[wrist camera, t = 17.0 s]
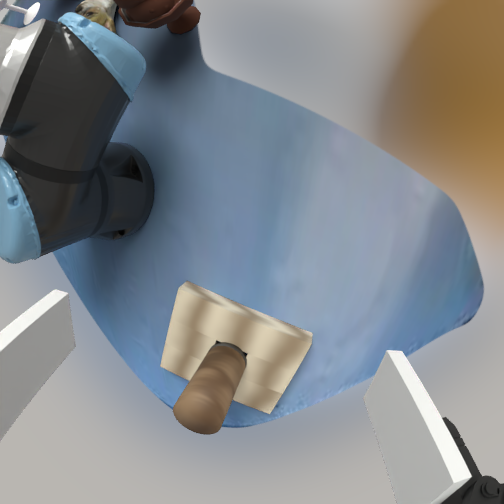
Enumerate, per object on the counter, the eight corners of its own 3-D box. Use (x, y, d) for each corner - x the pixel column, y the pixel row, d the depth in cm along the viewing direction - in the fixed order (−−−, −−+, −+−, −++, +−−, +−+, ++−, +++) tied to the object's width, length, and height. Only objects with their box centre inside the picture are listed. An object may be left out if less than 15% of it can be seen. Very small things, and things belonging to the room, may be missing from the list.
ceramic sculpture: (113, -32, 24) (85, 47, 29) (141, -14, 32) (119, 57, 37) (69, -16, 26) (45, 57, 31) (98, -3, 34) (78, 63, 39)
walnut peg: (209, 355, 46) (169, 420, 31) (219, 327, 44) (177, 392, 29) (243, 370, 45) (214, 440, 31) (256, 343, 43) (227, 414, 29)
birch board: (167, 357, 49) (160, 366, 46) (187, 280, 44) (178, 288, 41) (272, 402, 47) (269, 414, 44) (312, 333, 42) (311, 344, 39)
